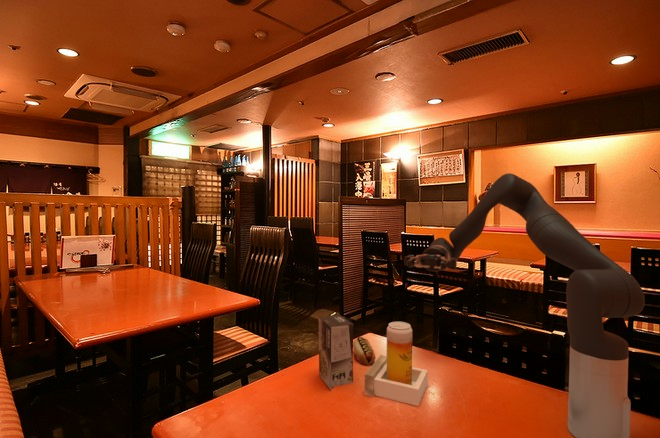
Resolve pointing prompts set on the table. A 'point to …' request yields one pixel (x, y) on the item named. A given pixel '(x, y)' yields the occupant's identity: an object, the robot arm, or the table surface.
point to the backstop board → (373, 375)
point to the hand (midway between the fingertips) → (425, 265)
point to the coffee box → (335, 350)
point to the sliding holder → (402, 387)
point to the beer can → (399, 352)
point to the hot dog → (364, 351)
